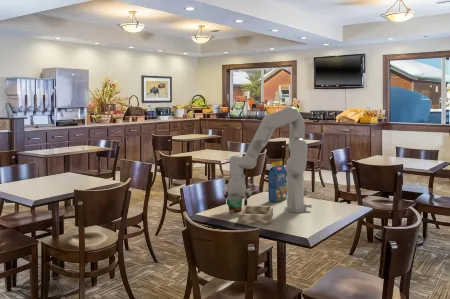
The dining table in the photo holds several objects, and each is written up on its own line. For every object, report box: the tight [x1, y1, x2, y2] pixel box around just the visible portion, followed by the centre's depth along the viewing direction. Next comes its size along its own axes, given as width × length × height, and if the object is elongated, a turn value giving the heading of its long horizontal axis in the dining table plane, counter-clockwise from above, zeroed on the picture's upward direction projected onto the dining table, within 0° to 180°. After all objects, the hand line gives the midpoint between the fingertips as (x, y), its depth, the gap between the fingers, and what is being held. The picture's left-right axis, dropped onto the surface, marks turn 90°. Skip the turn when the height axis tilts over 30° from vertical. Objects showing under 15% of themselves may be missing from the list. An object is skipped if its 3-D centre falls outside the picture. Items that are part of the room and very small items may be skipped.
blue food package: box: [267, 160, 287, 203], centre depth 277 cm, size 6×12×25 cm, turn 140°
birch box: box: [238, 205, 274, 226], centre depth 234 cm, size 16×20×5 cm
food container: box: [226, 195, 244, 214], centre depth 252 cm, size 12×6×10 cm, turn 148°
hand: (237, 206), depth 252 cm, fingers open, 9 cm apart
